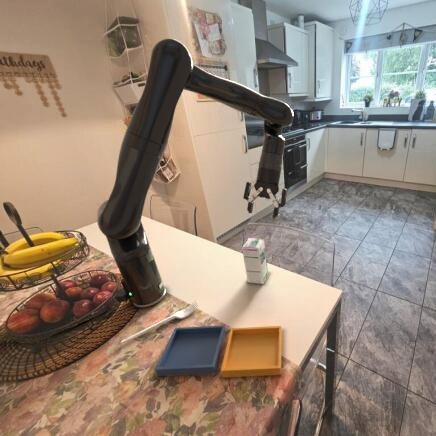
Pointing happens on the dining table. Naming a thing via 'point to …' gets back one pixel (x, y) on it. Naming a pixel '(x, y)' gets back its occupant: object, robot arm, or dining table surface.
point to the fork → (179, 315)
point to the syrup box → (255, 260)
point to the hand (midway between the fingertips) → (261, 215)
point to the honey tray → (253, 352)
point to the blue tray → (192, 351)
